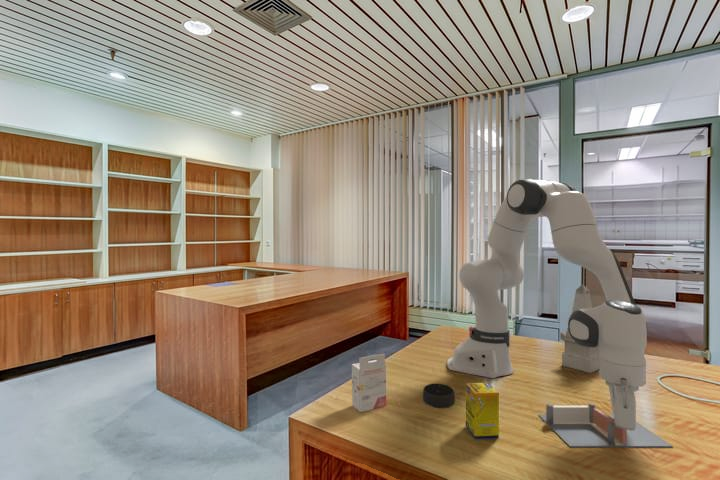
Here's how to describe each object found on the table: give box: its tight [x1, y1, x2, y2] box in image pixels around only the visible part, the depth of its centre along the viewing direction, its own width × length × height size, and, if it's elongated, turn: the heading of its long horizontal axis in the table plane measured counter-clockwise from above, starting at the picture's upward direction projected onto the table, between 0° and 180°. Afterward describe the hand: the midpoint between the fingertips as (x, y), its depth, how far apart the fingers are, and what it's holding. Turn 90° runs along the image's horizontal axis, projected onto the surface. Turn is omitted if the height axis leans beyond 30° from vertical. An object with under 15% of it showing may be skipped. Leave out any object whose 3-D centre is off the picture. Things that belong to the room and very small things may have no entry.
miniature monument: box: [559, 284, 600, 374], centre depth 133 cm, size 10×10×30 cm
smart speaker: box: [422, 383, 456, 409], centre depth 105 cm, size 9×9×4 cm
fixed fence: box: [545, 402, 614, 444], centre depth 88 cm, size 12×10×5 cm
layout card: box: [538, 414, 674, 448], centre depth 89 cm, size 23×14×1 cm, turn 90°
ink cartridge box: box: [351, 353, 387, 413], centre depth 102 cm, size 9×5×15 cm, turn 117°
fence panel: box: [593, 408, 627, 443], centre depth 87 cm, size 9×1×4 cm, turn 5°
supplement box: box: [465, 382, 500, 441], centre depth 88 cm, size 6×6×11 cm
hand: (621, 430), depth 86 cm, fingers closed
